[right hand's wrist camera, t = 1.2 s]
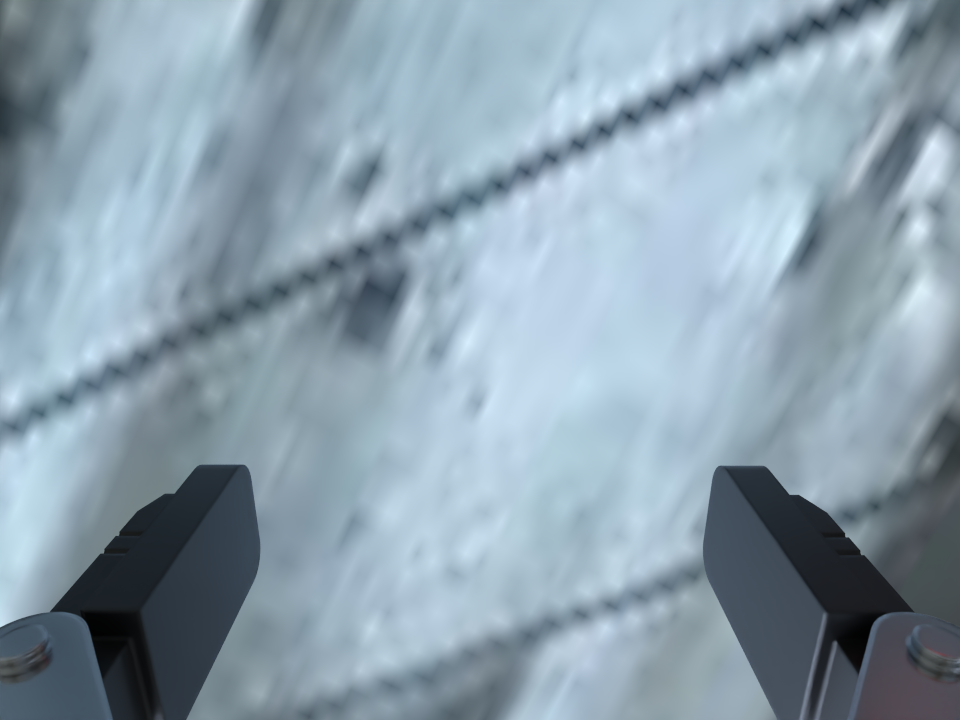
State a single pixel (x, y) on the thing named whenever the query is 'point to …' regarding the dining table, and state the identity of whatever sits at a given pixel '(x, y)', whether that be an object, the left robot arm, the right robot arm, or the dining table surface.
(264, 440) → the dining table surface
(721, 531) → the right robot arm
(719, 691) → the dining table surface
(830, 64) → the dining table surface
